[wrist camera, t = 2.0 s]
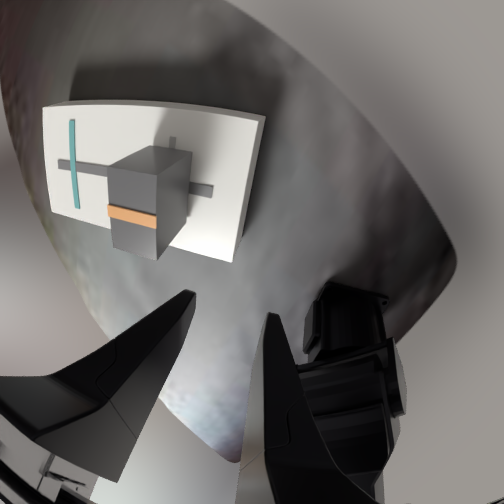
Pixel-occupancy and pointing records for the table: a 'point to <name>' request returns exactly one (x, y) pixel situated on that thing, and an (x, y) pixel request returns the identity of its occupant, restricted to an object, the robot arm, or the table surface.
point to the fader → (148, 199)
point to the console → (163, 135)
